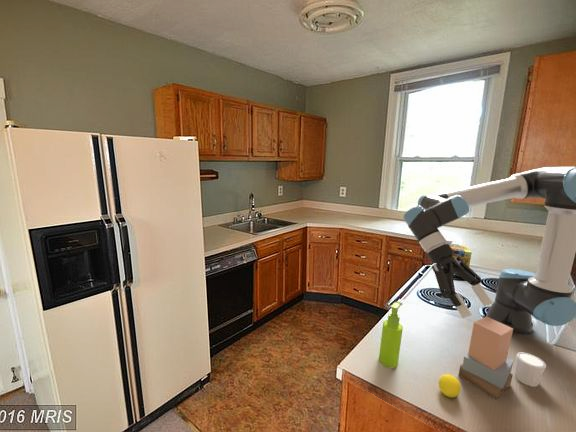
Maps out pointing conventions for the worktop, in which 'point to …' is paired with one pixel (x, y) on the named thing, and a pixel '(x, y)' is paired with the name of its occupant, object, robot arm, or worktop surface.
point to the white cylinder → (529, 369)
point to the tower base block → (484, 383)
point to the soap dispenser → (391, 338)
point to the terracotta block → (490, 342)
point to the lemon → (449, 385)
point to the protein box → (461, 253)
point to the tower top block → (488, 370)
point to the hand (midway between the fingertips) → (478, 310)
